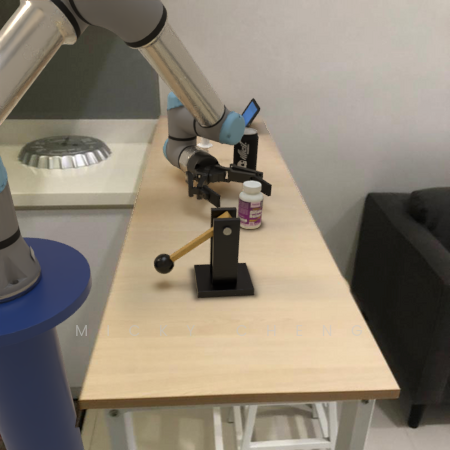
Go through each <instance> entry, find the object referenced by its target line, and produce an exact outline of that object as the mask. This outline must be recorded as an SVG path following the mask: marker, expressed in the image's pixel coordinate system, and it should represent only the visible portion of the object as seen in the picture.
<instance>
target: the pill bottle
mask: <svg viewBox="0 0 450 450" xmlns="http://www.w3.org/2000/svg"><path fill="white" fill-rule="evenodd" d="M260 191H261V183H260V182H257V181H245V182H244V183H242V191H241V192H239V195H238V207H237V217H240V220H241V222H240V228H242V229H245V230H255V229H257V228H260V227H261V225H262V217H263V206H264V194H263V193H262V192H260Z"/></svg>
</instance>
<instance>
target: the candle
mask: <svg viewBox="0 0 450 450" xmlns="http://www.w3.org/2000/svg"><path fill="white" fill-rule="evenodd" d="M197 146H198V147H199V148H201V149H203V150H204V151H206V152H207V153H209V154H211V153H210V151H209V150H210V149H211V148H213V147H214V144H213V143H211V140H209V139H206V138H202V137H200V142H199V143H197Z"/></svg>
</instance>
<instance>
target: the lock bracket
mask: <svg viewBox="0 0 450 450" xmlns="http://www.w3.org/2000/svg"><path fill="white" fill-rule="evenodd" d="M226 211H228V213H229V214H230V215H231V217H232V218H217V217H219V216H220V215H222V214H223V213H225V212H226ZM240 222H241V220H240V217H238V207H236V206H226V207H225V206H224V207H223V206H220V207H218V208H217V207H210V226H209V229H210V228H212V227H213V236H212V237H211V238H209V263H203V264H202V263H200V264H193V274H194V280H195V287H196V288H195V289H196V294H197V298H218V297H237V296H254V295H255V287H254V284H253V281H252V278H251V275H250V272H249V268H248V265H247V262H239V257H240V255H239V254H240V240H241V239H240V237H241V227H240Z"/></svg>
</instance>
